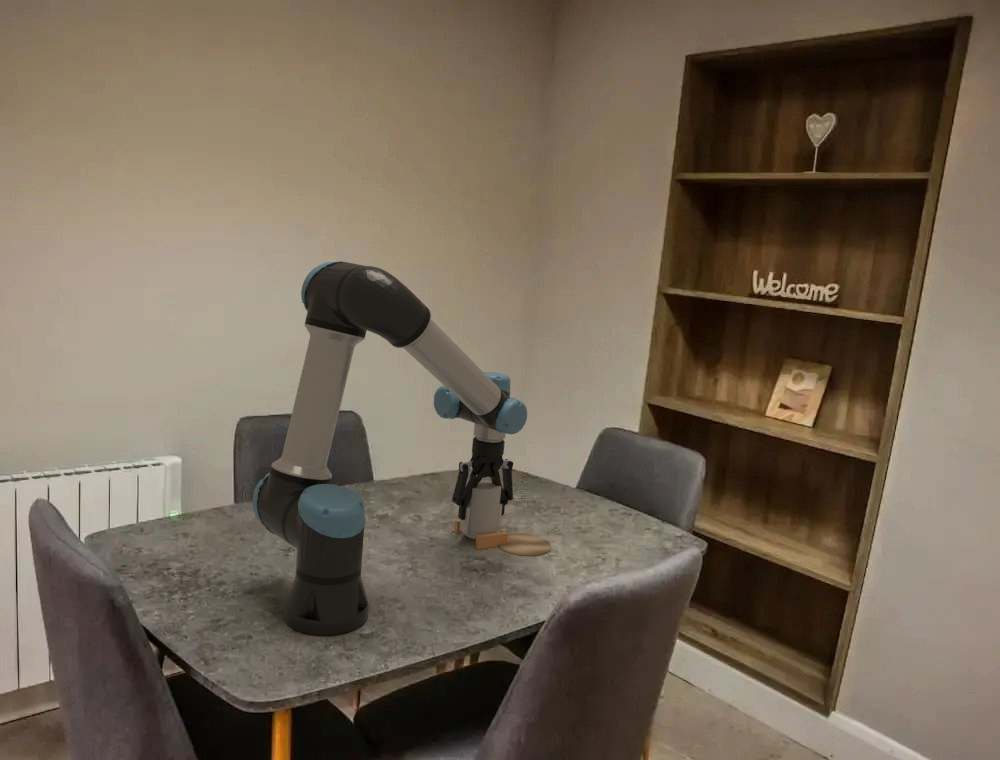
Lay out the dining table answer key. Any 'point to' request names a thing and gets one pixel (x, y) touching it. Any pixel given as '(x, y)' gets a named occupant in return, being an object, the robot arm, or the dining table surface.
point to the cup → (484, 509)
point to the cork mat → (525, 545)
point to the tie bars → (486, 538)
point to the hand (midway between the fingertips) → (479, 530)
